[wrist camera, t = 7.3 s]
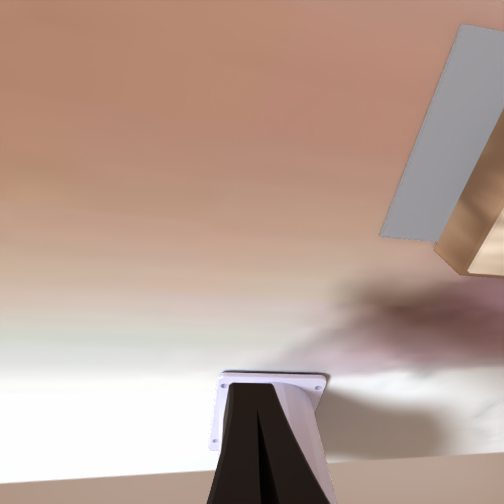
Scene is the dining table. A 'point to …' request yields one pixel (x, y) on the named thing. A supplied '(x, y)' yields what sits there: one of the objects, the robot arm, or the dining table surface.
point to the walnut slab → (479, 216)
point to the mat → (450, 136)
